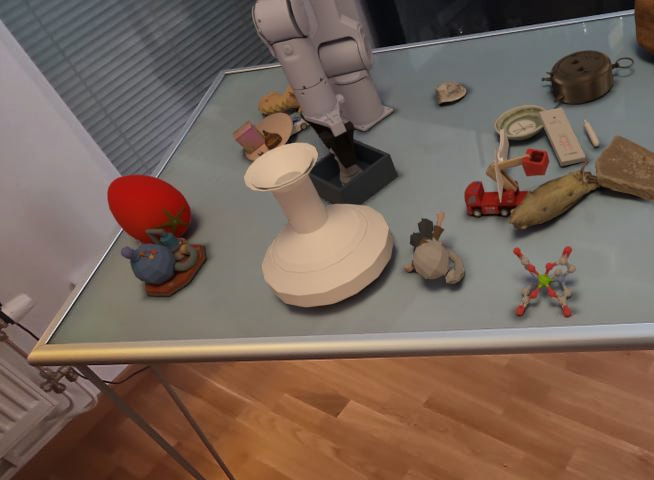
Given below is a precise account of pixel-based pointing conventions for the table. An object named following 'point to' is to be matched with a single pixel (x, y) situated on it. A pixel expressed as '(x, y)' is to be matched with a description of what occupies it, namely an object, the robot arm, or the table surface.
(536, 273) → the molecular model
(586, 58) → the alarm clock
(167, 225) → the tomato
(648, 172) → the decorative stone
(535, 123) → the saucer
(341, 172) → the rook chess piece
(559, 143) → the pregnancy test
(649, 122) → the table surface
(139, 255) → the model
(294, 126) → the toy car
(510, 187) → the toy fire truck
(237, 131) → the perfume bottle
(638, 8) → the bread
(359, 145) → the bin
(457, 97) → the fossil
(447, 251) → the toy
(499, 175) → the knife
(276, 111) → the toy
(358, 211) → the white vase
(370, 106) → the robot arm
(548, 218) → the root vegetable
